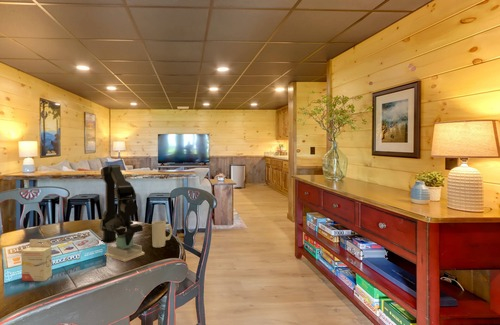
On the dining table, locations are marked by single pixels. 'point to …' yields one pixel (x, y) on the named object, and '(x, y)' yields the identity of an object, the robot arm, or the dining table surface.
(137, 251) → the mount board
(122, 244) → the block
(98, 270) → the dining table surface
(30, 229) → the dining table surface
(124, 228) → the robot arm
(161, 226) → the mug
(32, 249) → the ink cartridge box
